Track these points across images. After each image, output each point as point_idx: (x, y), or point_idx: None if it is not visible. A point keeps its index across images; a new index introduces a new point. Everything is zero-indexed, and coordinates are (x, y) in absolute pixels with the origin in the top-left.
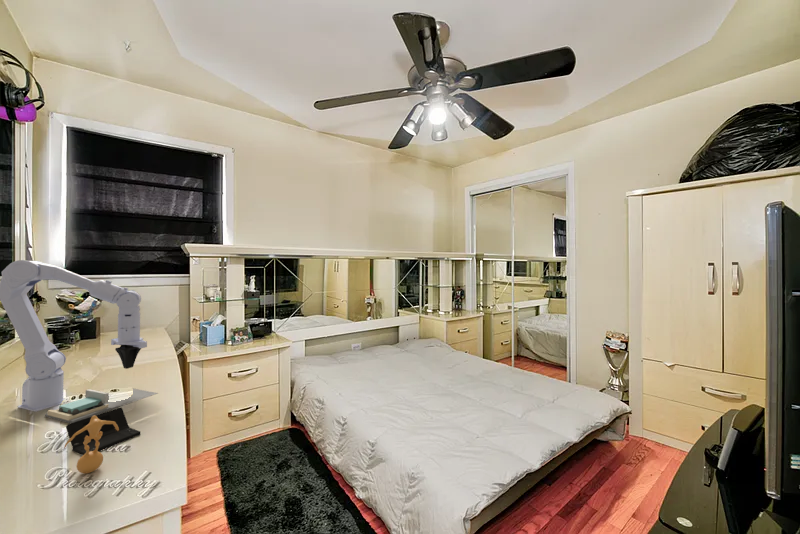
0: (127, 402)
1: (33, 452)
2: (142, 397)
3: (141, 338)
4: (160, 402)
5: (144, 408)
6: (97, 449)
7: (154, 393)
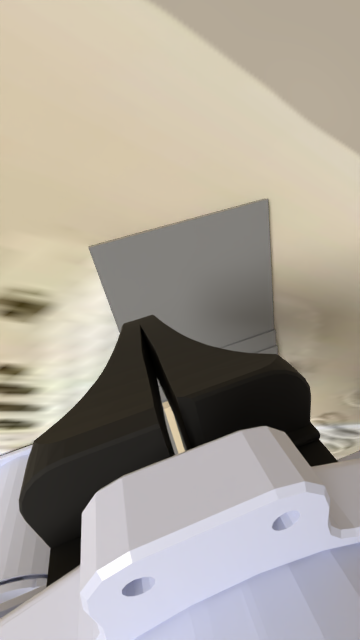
0: (261, 313)
1: (336, 456)
2: (258, 262)
3: (331, 522)
4: (350, 232)
5: (345, 286)
6: None
7: (258, 211)
